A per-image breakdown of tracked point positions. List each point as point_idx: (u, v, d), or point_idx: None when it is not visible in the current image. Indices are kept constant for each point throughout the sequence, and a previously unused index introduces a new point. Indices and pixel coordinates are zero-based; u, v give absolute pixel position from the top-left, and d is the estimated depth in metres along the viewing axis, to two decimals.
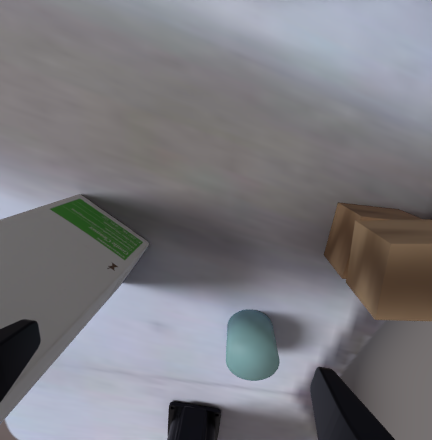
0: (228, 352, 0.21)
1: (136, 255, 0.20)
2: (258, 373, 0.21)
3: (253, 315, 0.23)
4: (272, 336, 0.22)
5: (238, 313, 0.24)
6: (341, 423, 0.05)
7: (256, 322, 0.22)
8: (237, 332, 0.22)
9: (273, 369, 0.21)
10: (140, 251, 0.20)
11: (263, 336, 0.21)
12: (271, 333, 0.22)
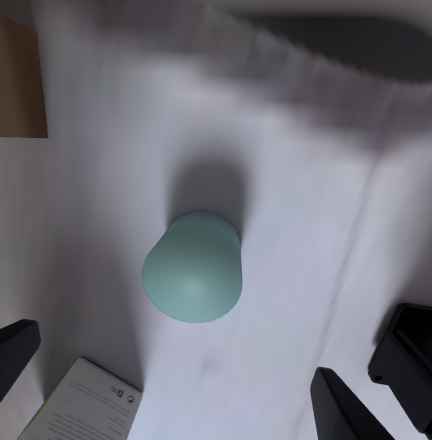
0: (175, 317, 0.12)
1: (54, 393, 0.16)
2: (222, 272, 0.11)
3: None
4: (169, 230, 0.12)
5: None
6: (341, 423, 0.05)
7: None
8: None
9: (209, 244, 0.10)
10: (62, 382, 0.17)
11: None
12: (169, 229, 0.12)
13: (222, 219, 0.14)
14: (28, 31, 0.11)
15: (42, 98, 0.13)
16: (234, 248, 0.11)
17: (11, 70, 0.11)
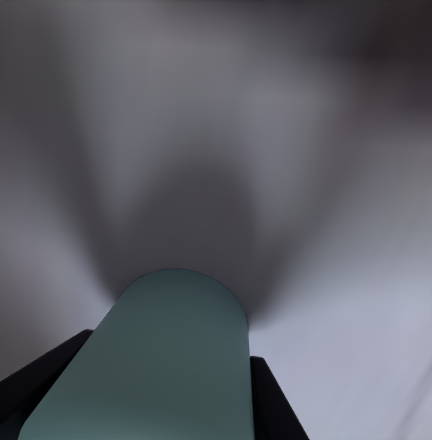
0: None
1: None
2: None
3: None
4: (98, 334, 0.06)
5: None
6: (255, 408, 0.06)
7: None
8: None
9: (173, 416, 0.04)
10: None
11: None
12: (101, 327, 0.06)
13: (215, 290, 0.07)
14: None
15: None
16: (238, 387, 0.05)
17: None
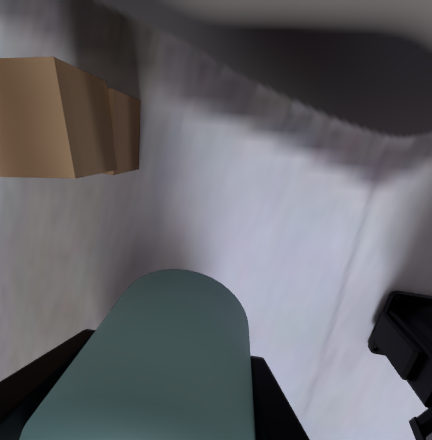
0: None
1: None
2: None
3: None
4: (99, 334, 0.06)
5: None
6: (255, 408, 0.06)
7: None
8: None
9: (174, 416, 0.04)
10: None
11: None
12: (102, 327, 0.06)
13: (216, 290, 0.07)
14: (137, 100, 0.17)
15: None
16: (239, 388, 0.05)
17: (129, 128, 0.16)
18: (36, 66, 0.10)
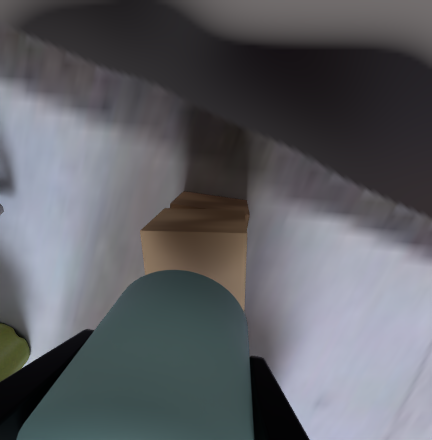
0: None
1: None
2: None
3: None
4: (96, 335, 0.06)
5: None
6: (255, 408, 0.06)
7: None
8: None
9: (172, 419, 0.04)
10: None
11: None
12: (100, 328, 0.06)
13: (215, 291, 0.07)
14: (246, 202, 0.18)
15: None
16: (238, 389, 0.05)
17: None
18: (228, 239, 0.11)
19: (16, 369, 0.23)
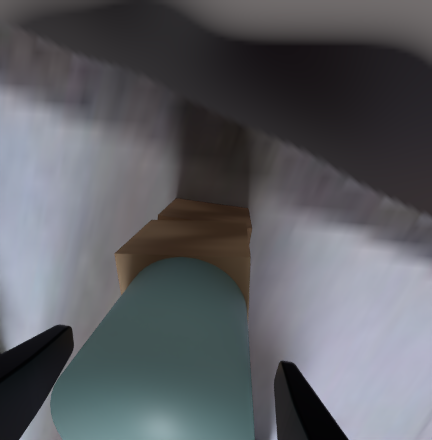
0: None
1: None
2: (212, 418, 0.05)
3: None
4: (115, 310, 0.06)
5: None
6: (293, 415, 0.06)
7: None
8: None
9: (183, 369, 0.05)
10: None
11: None
12: (117, 305, 0.07)
13: (217, 275, 0.08)
14: (248, 211, 0.15)
15: None
16: (238, 353, 0.06)
17: None
18: (226, 264, 0.08)
19: None
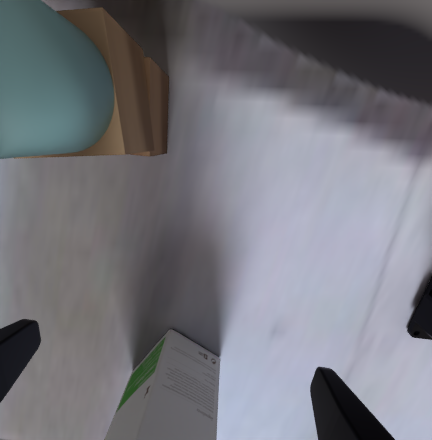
0: None
1: (162, 354, 0.20)
2: None
3: None
4: None
5: None
6: (341, 423, 0.05)
7: None
8: None
9: None
10: (164, 346, 0.21)
11: None
12: None
13: (65, 18, 0.08)
14: (166, 76, 0.15)
15: (167, 123, 0.17)
16: (32, 2, 0.06)
17: (161, 106, 0.15)
18: (81, 20, 0.08)
19: None
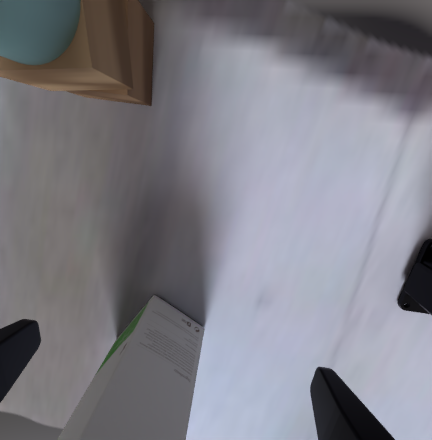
0: None
1: (143, 315, 0.19)
2: None
3: None
4: None
5: None
6: (341, 423, 0.05)
7: None
8: None
9: None
10: (146, 309, 0.20)
11: None
12: None
13: None
14: (151, 21, 0.15)
15: (151, 73, 0.16)
16: None
17: (143, 49, 0.14)
18: None
19: None
